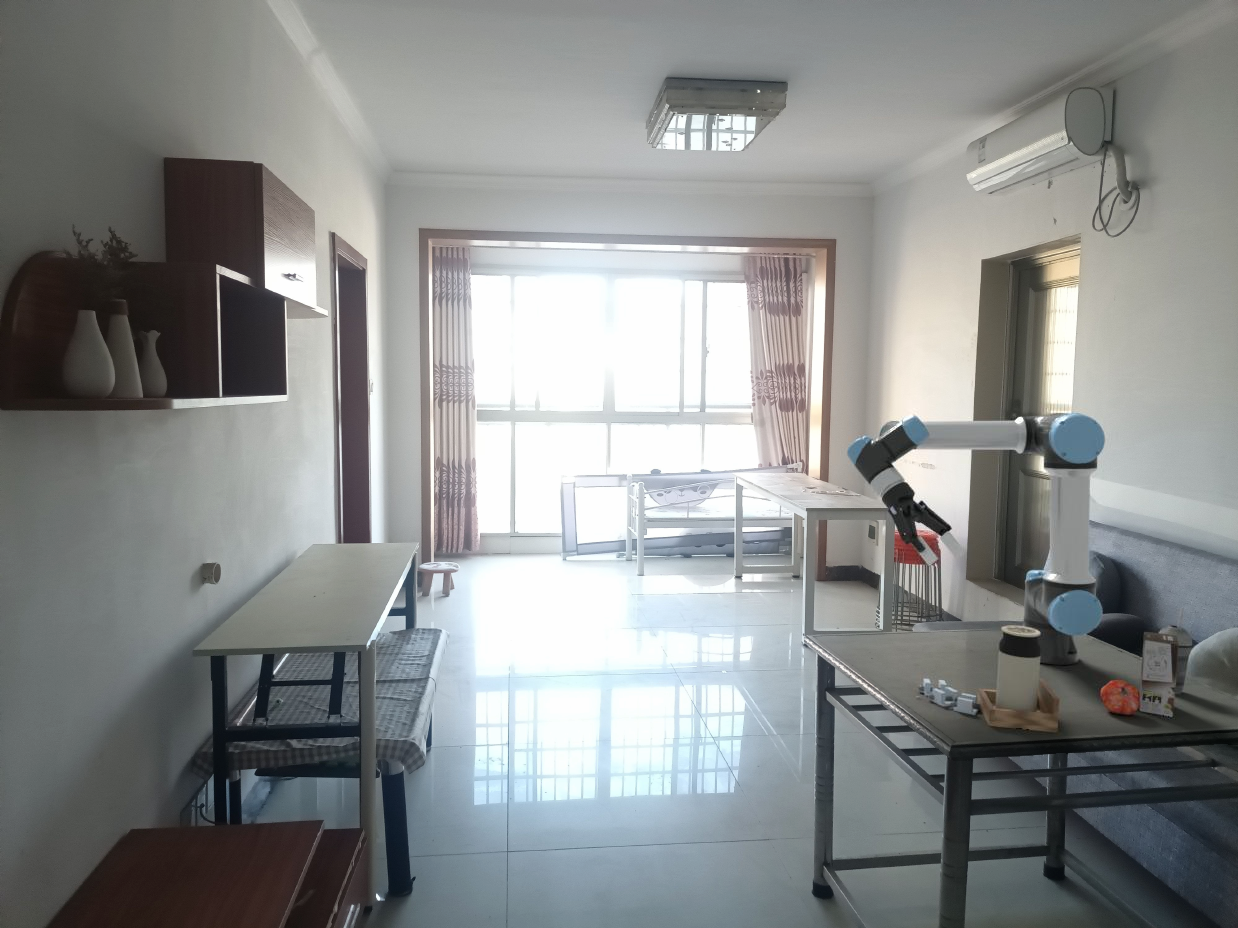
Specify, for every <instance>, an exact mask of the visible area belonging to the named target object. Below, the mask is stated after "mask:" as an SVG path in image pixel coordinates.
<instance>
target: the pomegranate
mask: <svg viewBox="0 0 1238 928" xmlns="http://www.w3.org/2000/svg"><path fill="white" fill-rule="evenodd" d="M1100 689H1101V690H1100V699H1101V700H1102V702H1103V703H1102V704H1103V706H1104V708H1105V709H1107V711H1109V712H1111V713H1113V714H1117V715H1126V716H1130V715H1133V714H1135V713H1136V712H1137V711H1138V709H1140V691H1139V689H1137V687H1135V686H1134V685H1131V684H1129V683H1128V682H1126V681H1125V680H1121V679H1115V680H1114V679H1113V680H1110V681H1109V682H1107V683H1106V685H1103V686H1102V688H1100Z"/></svg>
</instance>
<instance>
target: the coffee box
mask: <svg viewBox="0 0 1238 928" xmlns="http://www.w3.org/2000/svg"><path fill="white" fill-rule="evenodd" d="M1178 646H1179V644H1178V640H1177V636H1176V635H1169V634H1161V633H1159V632H1151V631H1144V632H1143V643H1142V653H1141V654H1142V655H1141V671H1140V686H1139V687H1140V689H1139V694H1140V698H1139V712H1143V713H1150V714H1155V715H1160V716H1163V715H1164V716H1165V717H1168V716H1169V718H1170V717H1171V718H1172V717H1173V716H1174V707H1175V706H1174V705H1175V697H1176V694H1175V685H1176V672H1177V659H1178Z"/></svg>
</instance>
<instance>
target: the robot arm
mask: <svg viewBox="0 0 1238 928" xmlns="http://www.w3.org/2000/svg"><path fill="white" fill-rule="evenodd" d="M1105 443H1106V437H1105V433H1104V430H1103V427H1102V426H1101V425H1100V423H1099V422H1097V421H1096V420H1095V419H1094V418H1093V417H1091V416H1089V415H1085V414H1082V413H1077V412H1069V413H1067V412H1066V413H1065V412H1055V413H1053V412H1052V413H1048V414H1041V415H1033V416H1032V415H1031V416H1018V417H1017V418H1016V419H1015V420H958V421H957V420H952V421H951V420H950V421H949V420H948V421H947V420H936V421H932V420H931V421H930V420H929V421H928V420H927V421H924V420H923V421H922V420H921V419H920V418H919V417H918V416H917V415H915V414H909V415H908V416H906V417H904V418H902V419H901V420H900V421H899V420H898V421H897V420H890V421H888V422H886V423H884V424H883V425H882V426H881V428H880V430H879V432H878V436H877V437H876V438H875V439H874V438H872V437H871V436H869V435H864V436H861V438H857V439H856V440H854V442H851V444H850V445H849V447H848V449H847V450H846V451H847V453H846V454H847V456H848V458H849V460H850V461H851V463H852V464H853V465H854V467H855V468H856V469H857V471H858V472H859V473H860V474H861V476H862V477H863V478H864V480H865V481H866V482H867V483H868V484H869V486H870V487H871V488H872V489H873V492H874V494H876V495H877V496H878V497H879V498H881V502H883V504H884V505H885V507H887V509H888V510H887V511H888V514H890V516H891V518H892V520H893V522H894V524H895V527H896V529H897V532H898V534H899V536H900V537H899V538H900V539H901V541H902V542H904V543H905V545H906V546H909V545H910V544H911V545H912V546H913V548H914V549H915V550H916V551H917V553H918V554H919V556H921V558H922V559H923V561H924V562H925V563H926V564H927V566H928V567H929V566H931V565H933V563H935V562H937V560H939V557H938V556H937V554H936V553H934V551H933V550H932V549H931V547H930V546H929V545H928V543H927V542H926V541H925V539H924V538H923V537H922V536H921V535H920V536H918V530H917V526H916V523H917V524H922V525H923V526H925V527H926V528H928V529H930V530H931V531H932V532H934V533H935V534H936V535H938V536H939V539H940V540H941V542H942V543H943V544H944V545H945V547H946V548H947V549H948V550H949V552H950V553H951V554H952V555H953V557H954V558H955V559H956V560H959V559H960V558H961V557H962V556H963V555H965V554H966V553H967V552H966V550H965V549H964V548H963V547H962V546H961V544H960V543H959V541H957V539H956V538H955V537H954V536H953V534H952V533H951V532H950V531H951V530H952V529H953V528H952V526H951V525H950V524H949V523H948V522H947V521H945V519H943V518H942V517H941V516H939V515H938V514H937V513H936V512H935V511H934V510H932V509H931V508H930V507H929V506H928V505H927V503H925V502H924V501H923V500H920V501H919V502H917V501H916V500H914V497H915V494H916V492H915V491H914V489H913V488H912V487H911V486H910V484H909V483H908V482H906V480H905V478H904V476H902V474H901V473H900V472H899V471H898V469H897V468H896V467H895V466H894V465H893V464H894V463H895V462H897V461H898V460H900V459H901V458H902V457H904V456H905V455H907V454H908V453H910V452H912V450H913V451H914V450H938V451H939V450H948V451H949V450H953V451H954V450H957V451H958V450H960V451H961V450H963V451H965V450H981V451H983V450H987V451H989V450H991V451H992V450H993V451H994V450H995V451H996V450H999V451H1000V450H1001V451H1002V450H1004V451H1005V450H1006V451H1007V450H1008V451H1009V450H1014V451H1016V453H1017V454H1030V455H1037V456H1043V469H1044V470H1045V471H1046V472H1047V473H1048V474H1049V477H1050V480H1049V481H1050V483H1049V487H1050V490H1049V491H1050V492H1049V495H1050V496H1049V510H1050V512H1049V569H1048V570H1046V569H1045V570H1044V569H1042V570H1041V569H1032V570H1029V571H1027V573H1026V577H1025V580H1024V584H1025V585H1024V586H1025V587H1024V588H1025V589H1024V590H1025V591H1024V607H1023V609H1024V610H1023V623H1022V626H1024V627H1029V628H1033V629H1036V630H1038V631H1039V632H1040V633H1041V634H1040V635H1039V637H1038V643H1039V645H1040V647H1041V655H1040V664H1048V665H1059V666H1060V665H1061V666H1062V665H1063V666H1064V665H1065V666H1067V665H1074V664H1076V663H1078V662H1079V650H1078V649H1079V648H1078V646H1077V642H1076V638H1075V637H1076V636H1083V635H1087V634H1089V633H1091V632H1092V631H1093V630H1094V629H1096V628H1097V627H1098V626H1099V625H1100V623H1101V621H1102V618H1103V612H1104V611H1103V606H1102V604H1101V602H1100V599H1098V597H1097V596H1096V594H1097V593H1096V585H1097V584H1096V583H1097V581H1096V580H1097V579H1096V578H1095V577H1094V576H1093V575H1092V574H1091V573H1090V510H1091V509H1090V502H1091V501H1090V500H1091V498H1090V495H1091V493H1090V491H1091V486H1090V485H1091V475H1092V474H1093V473H1094V472H1096V470H1098V456H1099V455H1101V453H1102V451H1103V450H1104V447H1105V445H1106V444H1105Z"/></svg>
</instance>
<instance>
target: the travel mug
mask: <svg viewBox="0 0 1238 928" xmlns="http://www.w3.org/2000/svg"><path fill="white" fill-rule="evenodd" d="M1001 632H1002V637H1001V639H1000V640H999V642H998V643H999V644H998V659H997V660H998V661H997V676H996V689H995V690H996V706H995V708H998V709H1008V710H1019V711H1029V712H1037V701H1038V686H1039V679H1040V668H1041V663H1040V655H1041V647H1040V645H1039V643H1038V637H1039V635H1040V634H1041V633H1040V632H1039V631H1038V630H1036V629H1033V628H1029V627H1024V626H1023V625H1004V626H1001Z"/></svg>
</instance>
